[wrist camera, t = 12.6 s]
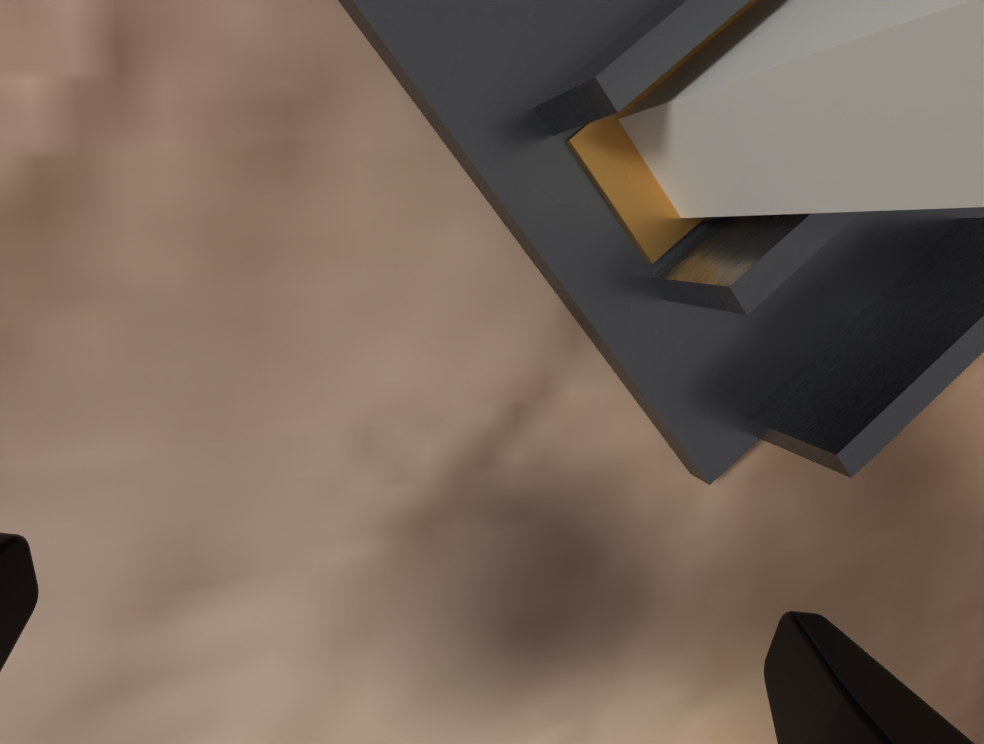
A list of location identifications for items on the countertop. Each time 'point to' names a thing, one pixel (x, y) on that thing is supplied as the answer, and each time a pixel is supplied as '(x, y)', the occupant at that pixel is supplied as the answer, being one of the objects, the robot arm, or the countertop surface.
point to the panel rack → (687, 235)
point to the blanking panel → (823, 111)
